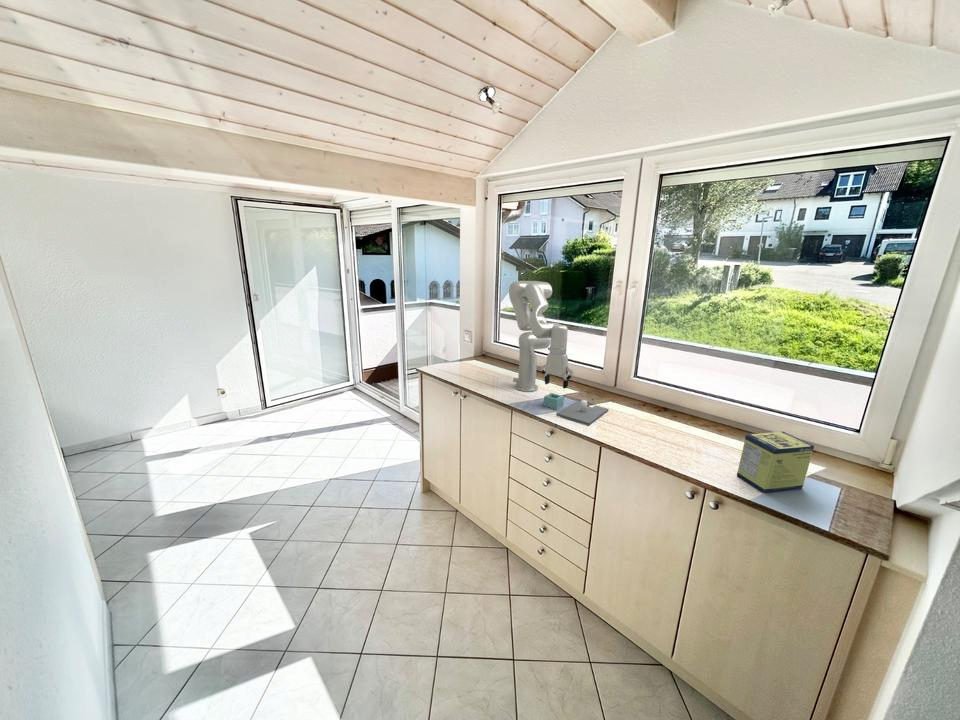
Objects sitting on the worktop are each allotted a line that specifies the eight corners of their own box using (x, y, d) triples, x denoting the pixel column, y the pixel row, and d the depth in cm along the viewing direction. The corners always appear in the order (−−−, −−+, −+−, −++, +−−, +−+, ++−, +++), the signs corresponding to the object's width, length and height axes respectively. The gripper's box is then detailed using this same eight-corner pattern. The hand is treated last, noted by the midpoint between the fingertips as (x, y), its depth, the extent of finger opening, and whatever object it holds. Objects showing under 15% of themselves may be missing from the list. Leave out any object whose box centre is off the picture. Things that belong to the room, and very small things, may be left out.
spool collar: (543, 405, 184) (544, 396, 183) (550, 401, 189) (551, 392, 188) (556, 409, 180) (557, 399, 179) (563, 405, 185) (563, 396, 184)
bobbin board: (556, 415, 173) (557, 403, 171) (577, 402, 189) (578, 391, 188) (589, 425, 163) (590, 412, 162) (608, 411, 180) (609, 399, 178)
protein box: (803, 489, 121) (815, 445, 117) (763, 494, 117) (775, 449, 113) (772, 471, 131) (783, 430, 127) (735, 475, 127) (744, 434, 123)
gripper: (538, 349, 180) (536, 384, 184) (571, 355, 169) (568, 391, 173) (546, 347, 185) (544, 380, 189) (578, 352, 175) (576, 387, 179)
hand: (555, 385), depth 181 cm, fingers open, 9 cm apart
